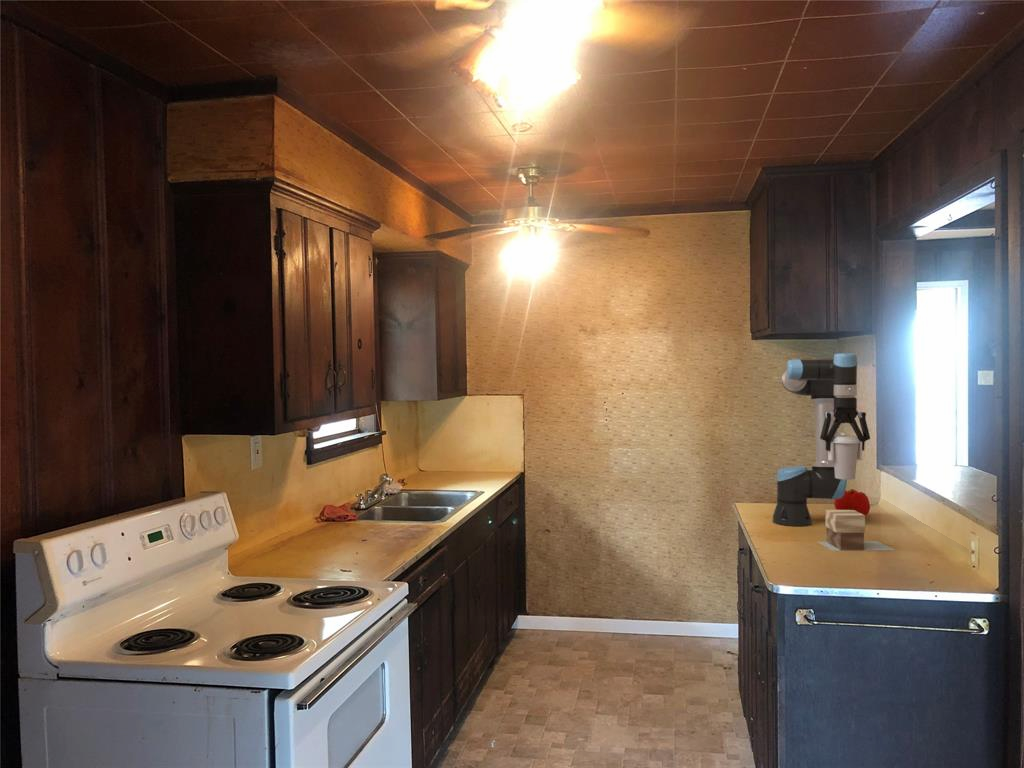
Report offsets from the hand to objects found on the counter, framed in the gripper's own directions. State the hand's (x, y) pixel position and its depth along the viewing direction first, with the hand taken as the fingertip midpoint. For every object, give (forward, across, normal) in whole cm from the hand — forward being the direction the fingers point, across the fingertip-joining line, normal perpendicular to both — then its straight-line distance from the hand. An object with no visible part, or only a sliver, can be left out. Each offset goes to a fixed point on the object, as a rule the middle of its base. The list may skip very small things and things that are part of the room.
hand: (845, 459), depth 268 cm
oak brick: (+25, 0, 0) cm, 25 cm away
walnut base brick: (+31, 0, 0) cm, 31 cm away
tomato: (+32, +28, +57) cm, 71 cm away
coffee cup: (+7, 0, 0) cm, 7 cm away
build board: (+32, +4, 0) cm, 32 cm away
